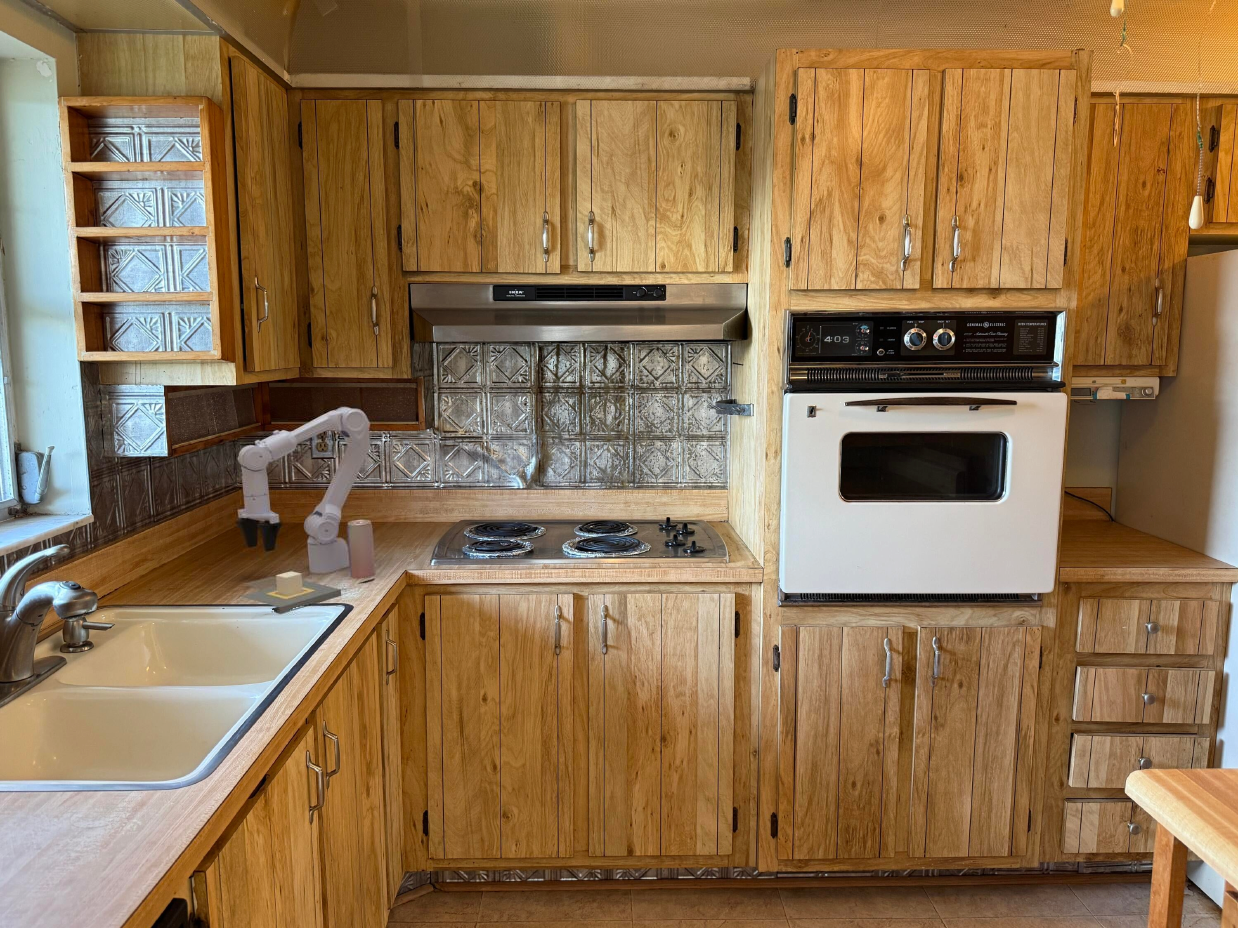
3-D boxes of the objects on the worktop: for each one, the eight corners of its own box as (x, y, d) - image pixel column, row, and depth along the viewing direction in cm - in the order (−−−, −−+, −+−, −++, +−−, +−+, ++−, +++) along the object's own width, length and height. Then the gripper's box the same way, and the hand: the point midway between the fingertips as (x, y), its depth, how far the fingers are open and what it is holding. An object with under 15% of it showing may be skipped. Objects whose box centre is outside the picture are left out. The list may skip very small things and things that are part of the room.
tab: (272, 581, 219) (272, 576, 218) (291, 586, 214) (291, 580, 214) (243, 589, 212) (242, 583, 212) (261, 594, 207) (261, 588, 207)
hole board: (301, 585, 215) (300, 578, 215) (341, 595, 206) (340, 588, 205) (240, 602, 202) (240, 595, 202) (280, 613, 193) (280, 606, 193)
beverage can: (346, 580, 218) (342, 522, 216) (368, 575, 222) (364, 518, 220) (358, 585, 214) (354, 525, 211) (380, 580, 218) (376, 521, 216)
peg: (293, 595, 206) (291, 571, 206) (303, 598, 204) (301, 573, 203) (278, 600, 203) (276, 575, 202) (288, 602, 201) (285, 577, 200)
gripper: (224, 494, 213) (229, 548, 215) (258, 499, 205) (263, 555, 207) (251, 490, 219) (255, 542, 221) (284, 495, 210) (289, 549, 212)
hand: (261, 548), depth 214 cm, fingers open, 7 cm apart
